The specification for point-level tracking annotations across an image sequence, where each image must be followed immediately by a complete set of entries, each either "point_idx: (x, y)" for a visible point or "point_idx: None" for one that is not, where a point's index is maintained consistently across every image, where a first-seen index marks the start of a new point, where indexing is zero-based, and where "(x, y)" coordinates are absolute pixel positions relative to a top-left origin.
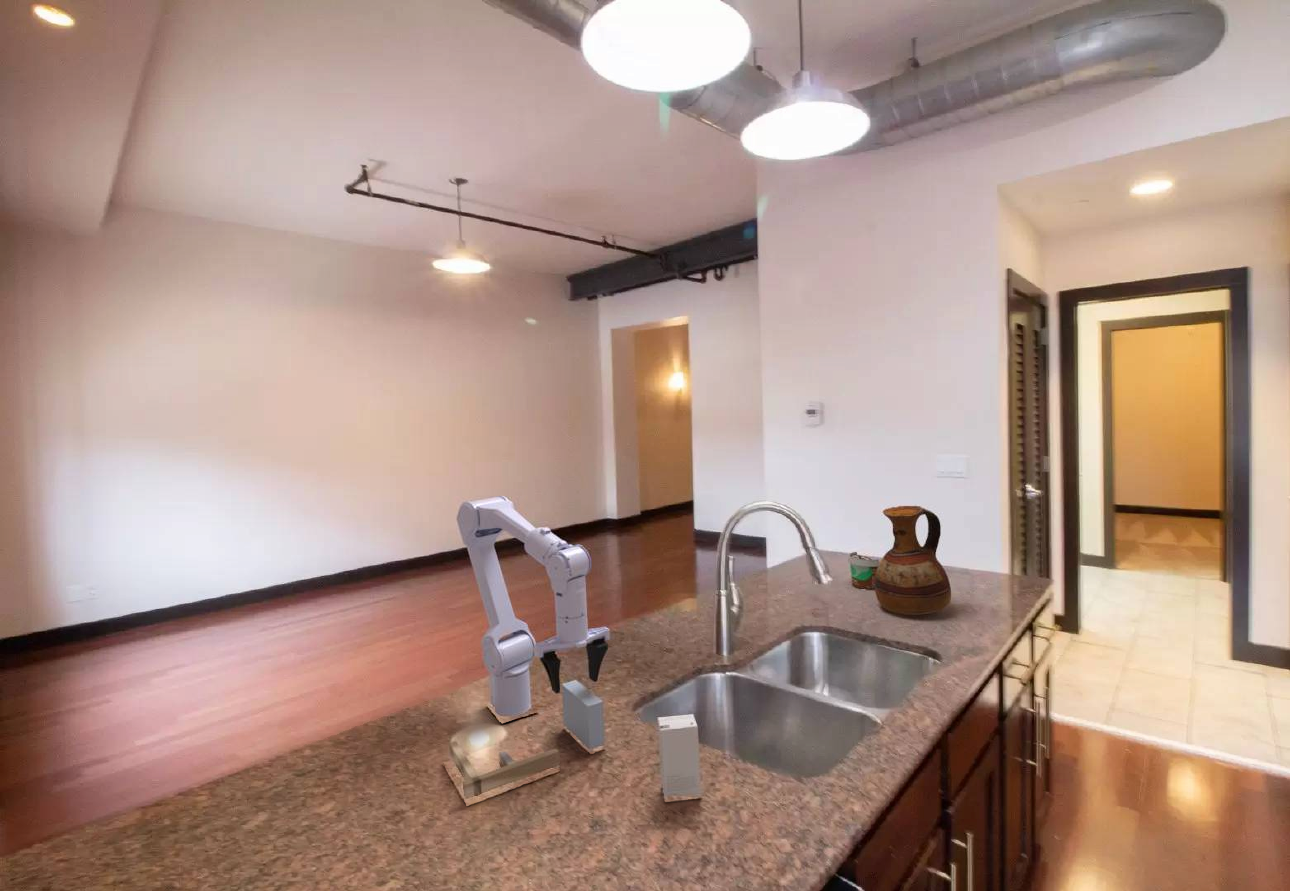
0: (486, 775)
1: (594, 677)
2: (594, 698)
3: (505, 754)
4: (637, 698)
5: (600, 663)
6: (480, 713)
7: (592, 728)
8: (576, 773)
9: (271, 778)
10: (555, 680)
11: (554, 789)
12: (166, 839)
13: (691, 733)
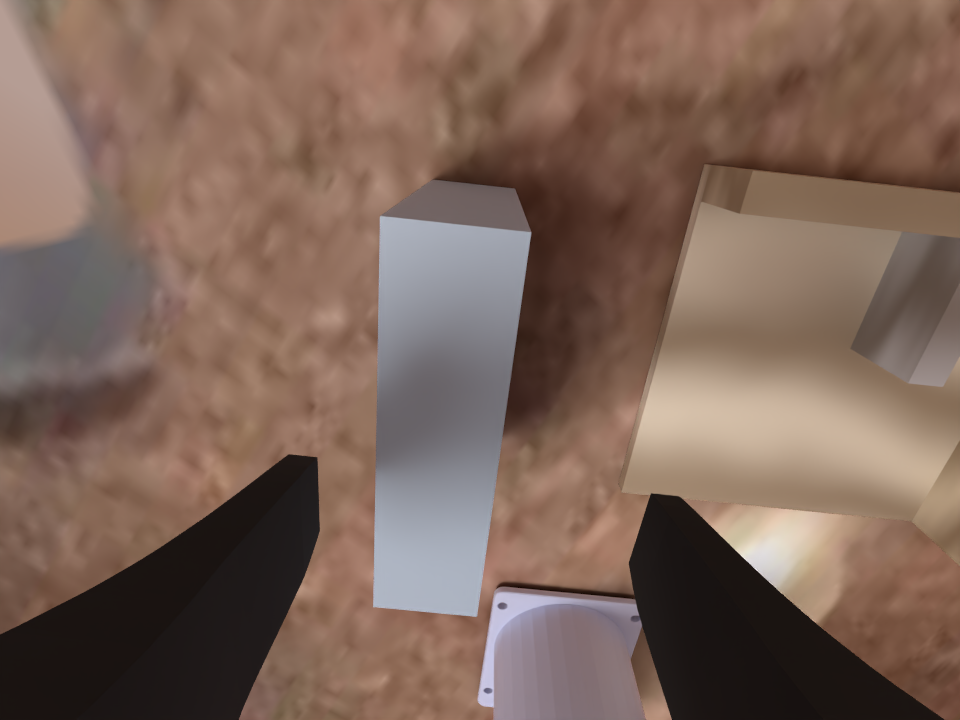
0: None
1: (301, 481)
2: (409, 311)
3: (943, 345)
4: (95, 441)
5: (150, 561)
6: (645, 688)
7: (496, 201)
8: (659, 92)
9: None
10: (769, 586)
11: (824, 43)
12: None
13: None
